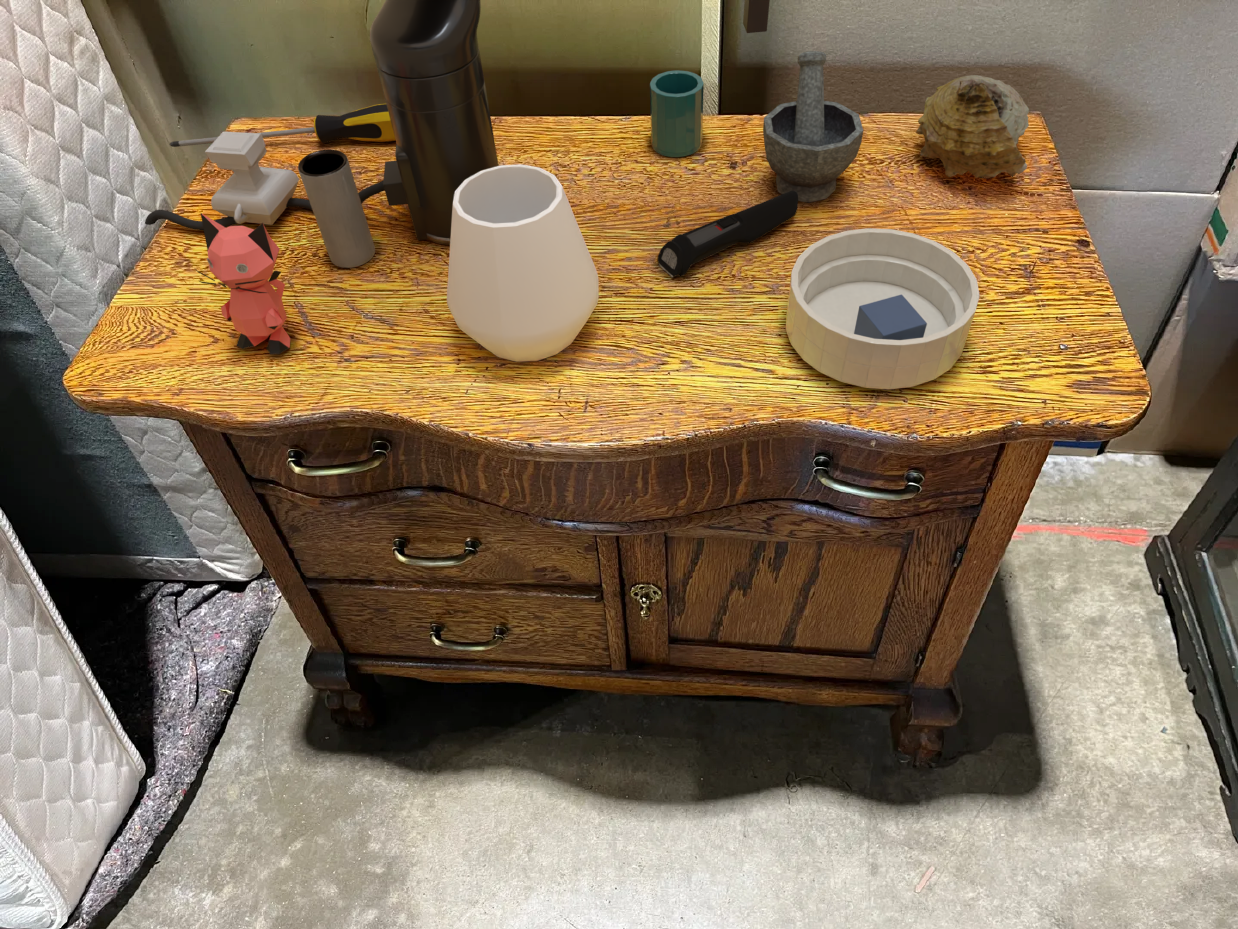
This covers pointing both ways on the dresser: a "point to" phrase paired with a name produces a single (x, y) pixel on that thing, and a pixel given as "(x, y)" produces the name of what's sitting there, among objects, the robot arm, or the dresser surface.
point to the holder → (676, 113)
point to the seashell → (975, 127)
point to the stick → (756, 15)
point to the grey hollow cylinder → (337, 207)
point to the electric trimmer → (726, 233)
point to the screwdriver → (335, 127)
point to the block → (890, 320)
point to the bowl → (870, 272)
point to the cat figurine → (248, 282)
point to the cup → (518, 264)
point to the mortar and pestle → (811, 136)
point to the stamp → (249, 180)
